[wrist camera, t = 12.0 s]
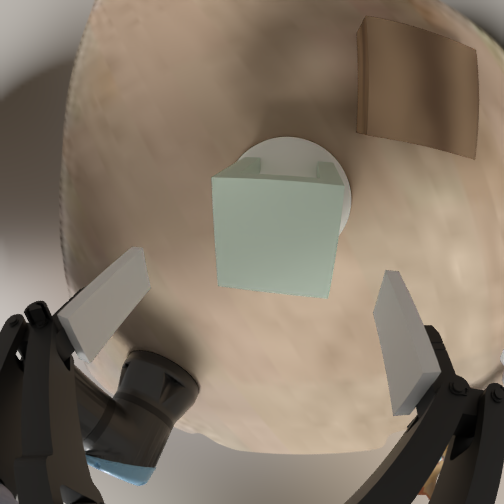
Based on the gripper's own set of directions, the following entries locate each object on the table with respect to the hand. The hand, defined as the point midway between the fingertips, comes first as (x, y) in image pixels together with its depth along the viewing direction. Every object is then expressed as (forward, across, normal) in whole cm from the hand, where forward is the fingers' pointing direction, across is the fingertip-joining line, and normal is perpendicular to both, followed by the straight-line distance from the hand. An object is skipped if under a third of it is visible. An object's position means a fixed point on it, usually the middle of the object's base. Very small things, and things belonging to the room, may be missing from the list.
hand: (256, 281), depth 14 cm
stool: (+13, +1, 0) cm, 13 cm away
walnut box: (+14, +12, +12) cm, 22 cm away
